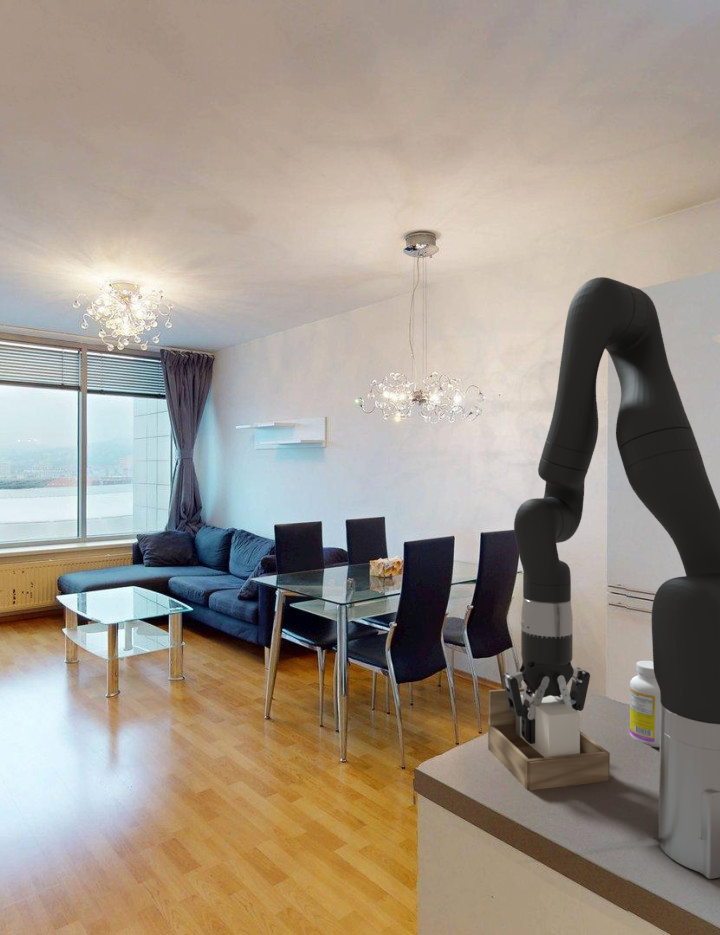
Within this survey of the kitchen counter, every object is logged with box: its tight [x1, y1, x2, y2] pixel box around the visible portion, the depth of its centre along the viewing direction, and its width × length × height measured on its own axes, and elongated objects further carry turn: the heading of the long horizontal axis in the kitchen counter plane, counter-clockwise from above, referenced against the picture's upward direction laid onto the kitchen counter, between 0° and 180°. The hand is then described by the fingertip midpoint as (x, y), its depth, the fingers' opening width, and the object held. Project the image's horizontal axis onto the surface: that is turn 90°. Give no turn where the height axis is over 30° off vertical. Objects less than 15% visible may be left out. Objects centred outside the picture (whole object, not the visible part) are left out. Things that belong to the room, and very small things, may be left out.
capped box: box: [516, 692, 581, 757], centre depth 95 cm, size 10×5×6 cm, turn 14°
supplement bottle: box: [629, 660, 660, 748], centre depth 105 cm, size 7×7×13 cm
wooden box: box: [487, 687, 611, 791], centre depth 95 cm, size 13×13×10 cm
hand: (546, 739), depth 95 cm, fingers closed on capped box, 5 cm apart
